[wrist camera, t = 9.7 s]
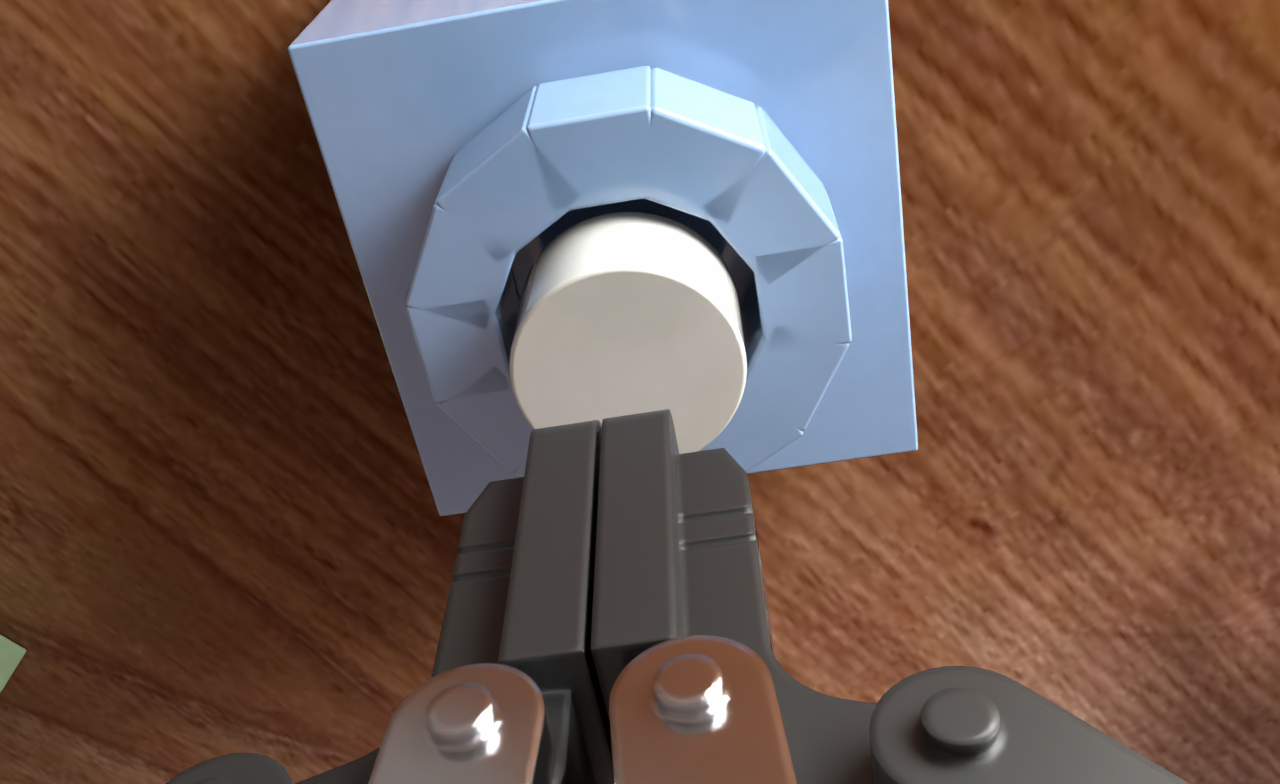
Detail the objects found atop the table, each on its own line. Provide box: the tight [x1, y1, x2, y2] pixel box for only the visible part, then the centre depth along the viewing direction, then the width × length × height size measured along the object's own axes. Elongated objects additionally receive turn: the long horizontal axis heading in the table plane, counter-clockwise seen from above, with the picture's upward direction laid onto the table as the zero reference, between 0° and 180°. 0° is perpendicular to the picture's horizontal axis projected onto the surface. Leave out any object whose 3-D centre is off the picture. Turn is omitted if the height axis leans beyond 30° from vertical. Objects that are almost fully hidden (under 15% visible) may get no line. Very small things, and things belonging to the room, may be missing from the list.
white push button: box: [509, 212, 747, 454], centre depth 16 cm, size 3×3×2 cm
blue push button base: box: [288, 0, 918, 516], centre depth 19 cm, size 8×8×6 cm
